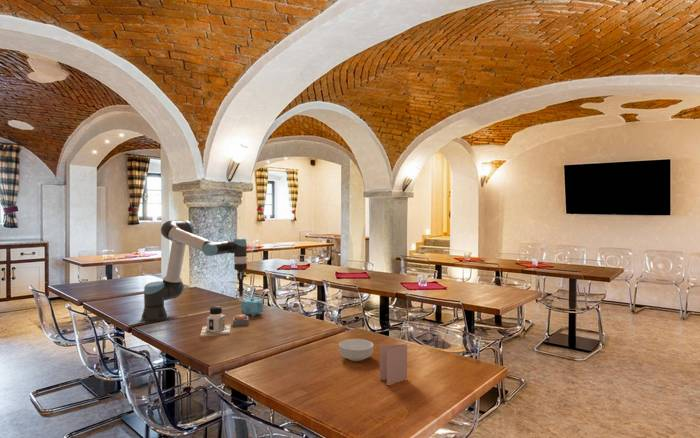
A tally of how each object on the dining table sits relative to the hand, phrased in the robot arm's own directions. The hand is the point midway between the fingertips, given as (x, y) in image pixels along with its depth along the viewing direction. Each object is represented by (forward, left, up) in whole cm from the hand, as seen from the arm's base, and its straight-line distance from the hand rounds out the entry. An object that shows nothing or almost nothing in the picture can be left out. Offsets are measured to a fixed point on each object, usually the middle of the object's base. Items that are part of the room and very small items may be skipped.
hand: (241, 301), depth 263 cm
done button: (0, 0, -12) cm, 12 cm away
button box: (0, 0, -14) cm, 14 cm away
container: (+13, -14, -13) cm, 23 cm away
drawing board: (+13, -14, -14) cm, 24 cm away
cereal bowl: (+75, +54, -15) cm, 93 cm away
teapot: (-21, +8, -14) cm, 27 cm away
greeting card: (+106, +62, -14) cm, 123 cm away
